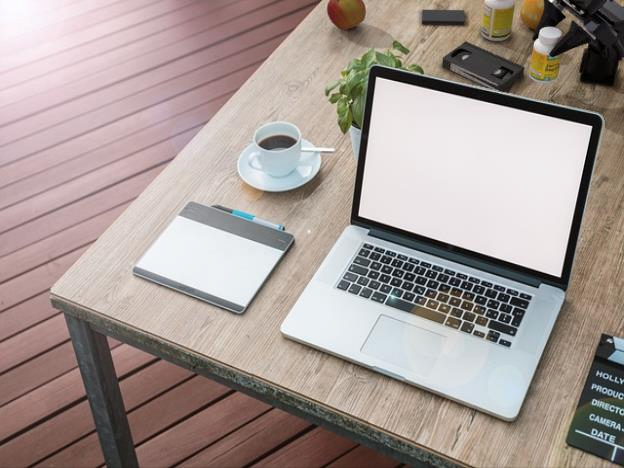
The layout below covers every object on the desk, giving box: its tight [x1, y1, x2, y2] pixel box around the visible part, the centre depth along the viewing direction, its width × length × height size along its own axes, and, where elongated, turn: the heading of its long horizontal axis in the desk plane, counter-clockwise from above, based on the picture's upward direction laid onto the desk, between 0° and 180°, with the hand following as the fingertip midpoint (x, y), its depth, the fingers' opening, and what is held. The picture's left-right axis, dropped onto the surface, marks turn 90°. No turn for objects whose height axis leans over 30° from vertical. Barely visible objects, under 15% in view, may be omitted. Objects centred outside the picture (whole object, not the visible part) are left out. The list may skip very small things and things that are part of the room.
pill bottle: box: [480, 0, 516, 42], centre depth 173 cm, size 6×6×11 cm
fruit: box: [519, 0, 544, 31], centre depth 176 cm, size 8×8×8 cm
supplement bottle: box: [528, 26, 563, 85], centre depth 156 cm, size 5×5×10 cm
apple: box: [326, 0, 367, 31], centre depth 178 cm, size 8×8×8 cm
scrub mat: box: [421, 9, 466, 26], centre depth 182 cm, size 9×5×1 cm, turn 84°
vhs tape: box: [441, 40, 526, 92], centre depth 167 cm, size 14×8×2 cm, turn 46°
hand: (541, 48), depth 155 cm, fingers closed on supplement bottle, 5 cm apart
